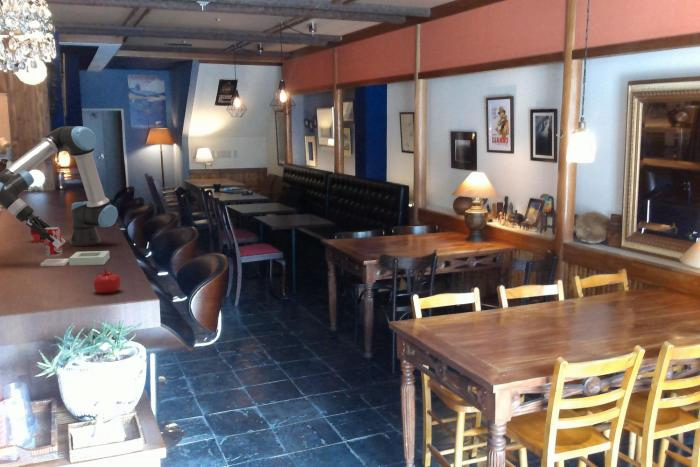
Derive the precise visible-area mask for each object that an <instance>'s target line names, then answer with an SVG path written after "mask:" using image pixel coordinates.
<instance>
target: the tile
mask: <svg viewBox="0 0 700 467" xmlns="http://www.w3.org/2000/svg"><path fill="white" fill-rule="evenodd" d="M67 263H69V258H47V259H44V261H42V262H41V263H40V267H58V266H59V267H60V266H62V267H64V266H65V265H67Z"/></svg>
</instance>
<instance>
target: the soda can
mask: <svg viewBox="0 0 700 467" xmlns="http://www.w3.org/2000/svg"><path fill="white" fill-rule="evenodd" d="M45 230H46V231H47V233H49V236H50V235H51V236H53V237H54V238H55V239H57V240H58V241H59V242H60V243H61V244H62V242H61V238H62V233H61V232H62V231H61V229H60V227H59V226H50V227H48V228H45ZM44 241H45V242H44V251H45V252H44V253H45V256H46V257H50V258H51V257H52V258H53V257H55V258H56V257H61V256H62V255H63V245H61V246H60V247H59V248H58V249H57V248H56V247H55V246H54V245H53V244H52V243H51V242H49V241H48V240H47V238H46V239H45V240H44Z"/></svg>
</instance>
